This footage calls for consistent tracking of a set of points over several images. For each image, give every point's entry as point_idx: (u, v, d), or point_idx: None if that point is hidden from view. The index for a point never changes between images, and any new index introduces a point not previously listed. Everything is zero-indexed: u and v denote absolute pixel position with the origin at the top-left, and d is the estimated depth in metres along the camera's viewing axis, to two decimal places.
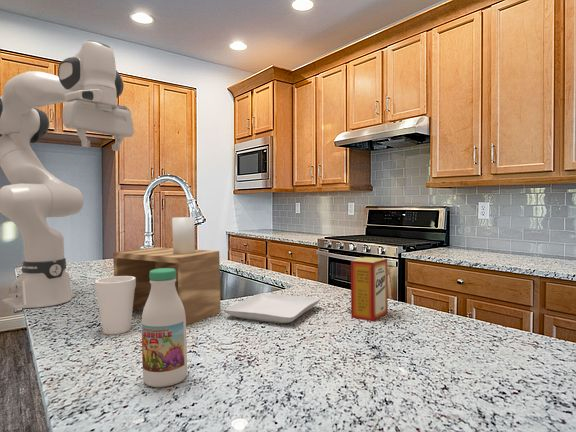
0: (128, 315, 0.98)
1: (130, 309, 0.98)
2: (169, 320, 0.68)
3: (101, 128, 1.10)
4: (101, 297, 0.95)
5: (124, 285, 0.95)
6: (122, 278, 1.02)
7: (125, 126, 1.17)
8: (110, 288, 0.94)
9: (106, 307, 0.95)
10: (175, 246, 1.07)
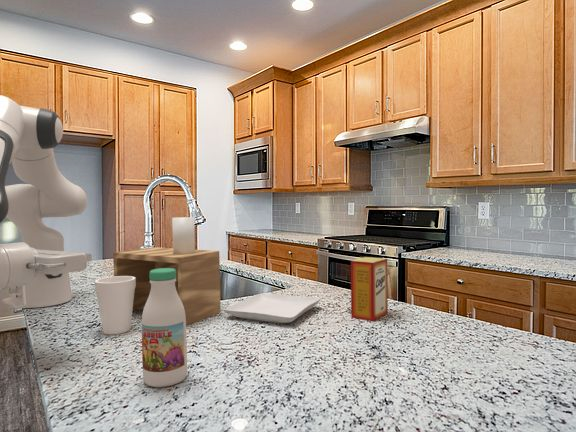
0: (128, 315, 0.98)
1: (130, 309, 0.98)
2: (169, 320, 0.68)
3: None
4: (101, 297, 0.95)
5: (124, 285, 0.95)
6: (122, 278, 1.02)
7: None
8: (110, 288, 0.94)
9: (106, 307, 0.95)
10: (175, 246, 1.07)
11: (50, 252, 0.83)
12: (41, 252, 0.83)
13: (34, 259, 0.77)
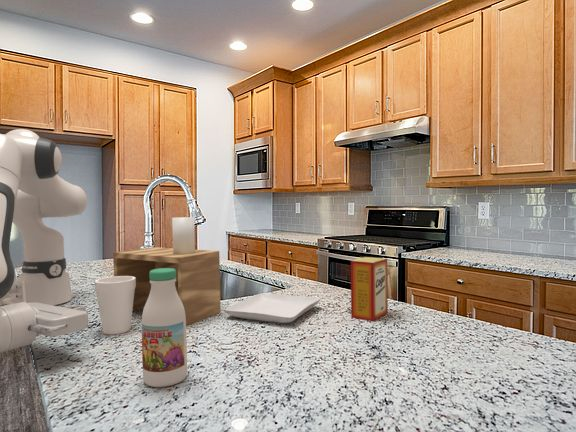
0: (128, 315, 0.98)
1: (130, 309, 0.98)
2: (169, 320, 0.68)
3: None
4: (101, 297, 0.95)
5: (124, 285, 0.95)
6: (122, 278, 1.02)
7: None
8: (110, 288, 0.94)
9: (106, 307, 0.95)
10: (175, 246, 1.07)
11: (52, 309, 0.83)
12: (43, 309, 0.84)
13: (36, 320, 0.78)
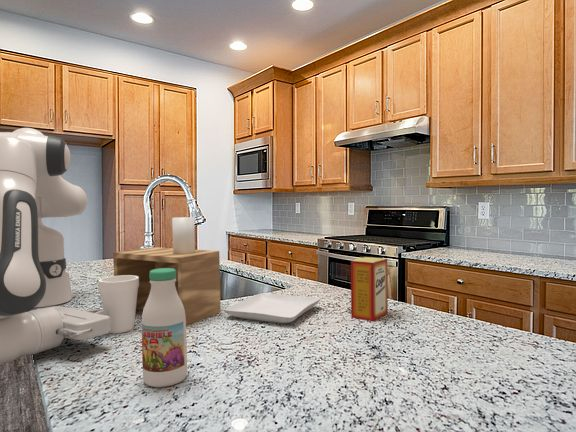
0: (131, 314, 0.98)
1: (133, 308, 0.99)
2: (169, 320, 0.68)
3: None
4: (105, 296, 0.95)
5: (127, 284, 0.96)
6: (126, 277, 1.03)
7: None
8: (113, 287, 0.95)
9: (109, 306, 0.95)
10: (175, 246, 1.07)
11: (76, 313, 0.88)
12: (67, 313, 0.89)
13: (63, 324, 0.83)
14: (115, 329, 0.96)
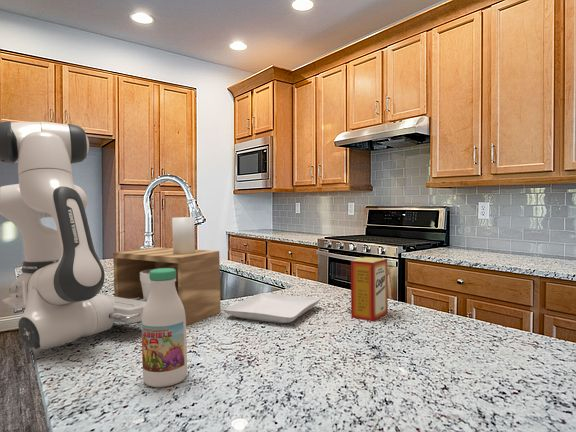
0: None
1: None
2: (169, 320, 0.68)
3: None
4: (146, 286, 1.06)
5: None
6: None
7: None
8: None
9: None
10: (175, 246, 1.07)
11: (123, 301, 0.99)
12: (115, 301, 0.99)
13: (114, 310, 0.93)
14: None
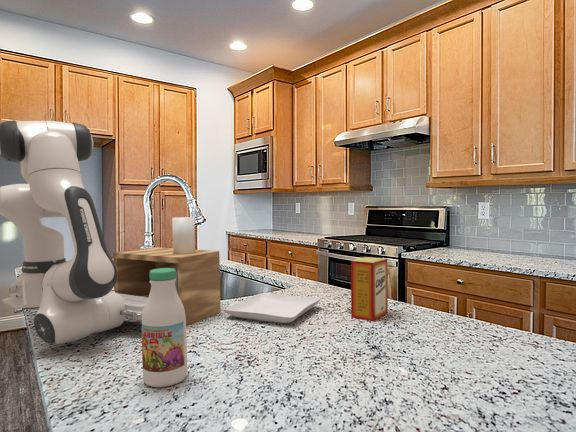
0: None
1: None
2: (169, 320, 0.68)
3: None
4: None
5: None
6: (173, 268, 1.17)
7: None
8: None
9: None
10: (175, 246, 1.07)
11: (133, 298, 1.02)
12: (125, 298, 1.02)
13: (125, 306, 0.96)
14: None
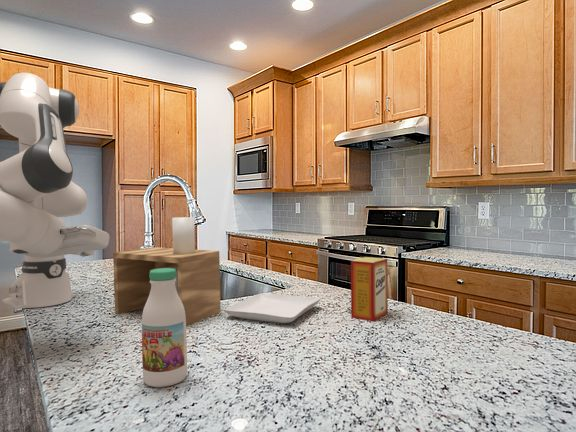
0: None
1: None
2: (169, 320, 0.68)
3: (67, 253, 0.92)
4: None
5: None
6: (173, 268, 1.17)
7: (90, 246, 0.88)
8: None
9: None
10: (175, 246, 1.07)
11: None
12: None
13: (66, 228, 0.86)
14: None
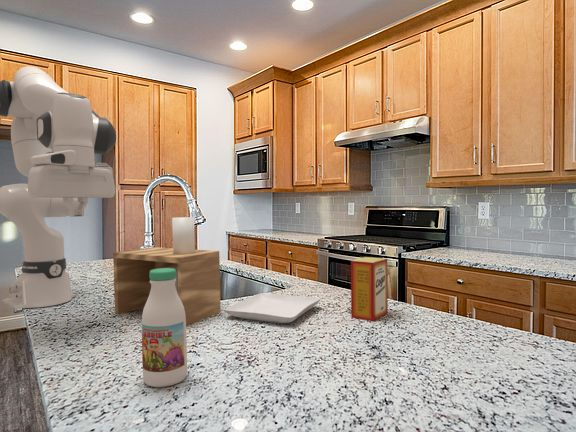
0: None
1: None
2: (169, 320, 0.68)
3: (76, 194, 0.94)
4: None
5: None
6: (173, 268, 1.17)
7: (105, 187, 1.00)
8: None
9: None
10: (175, 246, 1.07)
11: None
12: None
13: None
14: None
